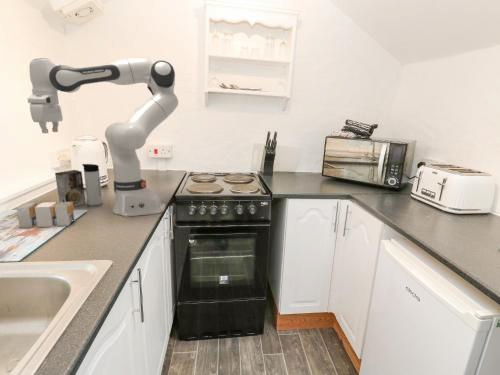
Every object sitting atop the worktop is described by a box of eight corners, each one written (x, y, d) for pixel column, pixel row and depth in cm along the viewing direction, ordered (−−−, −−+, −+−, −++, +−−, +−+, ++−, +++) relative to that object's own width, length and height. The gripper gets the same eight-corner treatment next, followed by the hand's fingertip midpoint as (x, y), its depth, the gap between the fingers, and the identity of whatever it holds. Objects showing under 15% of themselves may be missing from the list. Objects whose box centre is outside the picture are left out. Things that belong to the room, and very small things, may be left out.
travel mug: (85, 204, 141) (80, 163, 136) (99, 202, 146) (95, 162, 141) (89, 207, 137) (84, 165, 132) (104, 205, 141) (100, 163, 136)
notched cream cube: (37, 227, 113) (34, 207, 111) (45, 221, 119) (42, 202, 117) (53, 226, 114) (51, 206, 112) (60, 220, 120) (58, 202, 118)
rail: (76, 220, 121) (74, 201, 119) (70, 225, 115) (68, 206, 113) (28, 222, 118) (25, 202, 116) (19, 227, 112) (16, 207, 110)
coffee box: (78, 201, 146) (74, 169, 142) (86, 203, 142) (82, 171, 138) (59, 206, 138) (54, 172, 134) (66, 208, 135) (62, 174, 131)
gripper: (49, 100, 134) (53, 131, 138) (24, 98, 115) (30, 134, 118) (64, 100, 135) (68, 131, 139) (42, 98, 116) (47, 134, 119)
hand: (50, 132), depth 128 cm, fingers open, 8 cm apart
